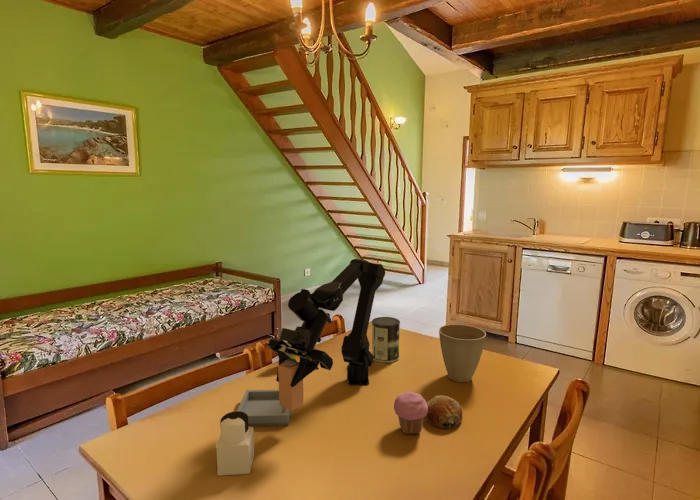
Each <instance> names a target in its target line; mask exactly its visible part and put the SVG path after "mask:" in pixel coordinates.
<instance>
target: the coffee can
mask: <svg viewBox="0 0 700 500" xmlns="http://www.w3.org/2000/svg"><path fill="white" fill-rule="evenodd" d="M400 325H401V321H400V319H398V318H396V317H390V316H379V317H378V316H377V317H375V318H373V319H371V326H372V327H371V330H372V331H371V337H372V338H371V339H372V340H371V341H372V342H371V343H372V344H371V350H372V351H371V354H372V355H373V356H374V361H376V362H378V363H382V364H391V363H395V362H398V360H400Z"/></svg>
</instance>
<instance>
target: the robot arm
mask: <svg viewBox="0 0 700 500" xmlns="http://www.w3.org/2000/svg"><path fill="white" fill-rule="evenodd" d="M385 275H386V269H385V267H384V266H383V264H381V263H373V262H370V261H368V260H366V259H361V258H353V259H351V260H350V262H349V264H348V265H347V266H346V267H345V268H344V269H343V270H342V271H341V272H340V273H338V274H337V275H336V277H335V278H334V279H332V281H330V282H328V283H324V284H322V285H320V286H319V287H317V288H316V289H314V291H313V292H312V293H311V292H310V290H309V289H305V288H302V289H301V290H300V291H299V292H297V293H294V295H292V296H291V297H290V298H289V300H288V302H287V306H288V309H289V310H290V311H291V312H292V313H293V314H294V316H296V317H297V318H298V319H299V320H300V321H302V324H301V326H296V328H295V329H290V328H287V327H286V328H284V327H282V328H281V332H280V335H279V338H277V337H272V338H270V339H269V341H268V343H267V344H266V346H267V347H268V348H269V349H270V350H272V351H273V352H274V353H275V354H277V357H278V365H280V364H282V363H284V361H285V360H287V359H291V358H290V357H291V355H295V356H297V357H299V361H298V362H299V366H298V369H297V371H296V373H295V375H294V377H293V379H292V382H291V384H290V386H291V387H294V386H295V385H297V384H298V383H299V382H300V381H301V380H302V379H303V380H304V379H305V378H307V376H309V375H310V374H311V373H313V372H314V371H318V370H319V369H320V368H321V369H324V370H327V371H331V370H332V368H333V365H334V361H333V358H332V357H331V356H330V355H329V354H328V353H327V352H326V351H323V350H321V349H316V348H315V347H316V345H317V343H321V342H322V339H321V337H320V336H321V334H322V332H323V329H325V326H326V324H327V323H328V324H331V323H332V317H331V314H330V313H328V312H325V310H327V311H331V312H334V311H336V310H337V309H338V308H339V306H340V305H341V304H342V302H343V300H344V294H345V293H346V291H348V289H349V288H350V287H351V286H352V285H353V284H354V283H355V282H356V281H357V280H358V283H359V285H360V286H359V287H360V289H359V294H358V299H357V303H356V309H355V314H354V319H353V322H352V323H353V324H352V327H351V332H350V333H349V334H348V335H344V337H343V342H342V345H341V349H340V350H341V355H342V358H343V362H344V363H348V364H347V365H346V366H347V367H346V379H347V381H348V385H349V386H350V385H351V386H352V385H361V386H362V385H369V384H370V381H369V380H370V379H369V368H370V367H372V364H373V363H374V361H375V360H374V356H373V355H372V351H370V341H369V339H368V336H367V335H368V334H367V333H368V329H369V323H370V319H371V315H372V314H371V313H372V310H373V305H374V299H375V294H376V292H377V290H378V289H379V288H380V287H381V286H382V284H383V281H384V277H385ZM283 340H284V341H287V343H288V344H290V345H292V346H289V345H288V344H287V343H286V342H284V341H283ZM295 351H296V352H295ZM319 366H320V368H319ZM275 381H276V382H277V383H279V377H278V371H277V372H276V380H275Z"/></svg>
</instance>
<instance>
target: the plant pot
mask: <svg viewBox="0 0 700 500" xmlns="http://www.w3.org/2000/svg"><path fill="white" fill-rule="evenodd" d="M438 334H439V343H440V348H441V354H442V359H443V362H444V363H443V364H444V367H445V370H446V372H447V376H448V378H449V379H450V380H452V381H454V382H458V383H468V382H471V380H472V379H473V377H474V375H475V373H476V370H477V368H478V365H479V363H480V360H481V357H482V354H483V351H484V346H485V344H486V343H485V341H486V337H487V332H486V331H485V330H483V329H481V328H479V327H476V326H472V325H467V324H458V323H456V324H453V323H452V324H445V325H442V326H440V327H439V329H438Z"/></svg>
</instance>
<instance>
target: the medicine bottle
mask: <svg viewBox="0 0 700 500" xmlns="http://www.w3.org/2000/svg"><path fill="white" fill-rule="evenodd" d="M219 421H220V423H219V424H220V434H219V437H218V440H217V442H216V445H215V458H216V472H217V476H234V475H235V476H236V475H238V476H239V475H249V474H250V473H251V470H252V466H253V461H254V457H255V434H254V432H255V431H254V426H251V427H249V424H248V415H247V414H246V413H244V412H241V411H237V410H236V411H230V412H228V413H225V414H224V415H223V416H222V417H221V419H219Z"/></svg>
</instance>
